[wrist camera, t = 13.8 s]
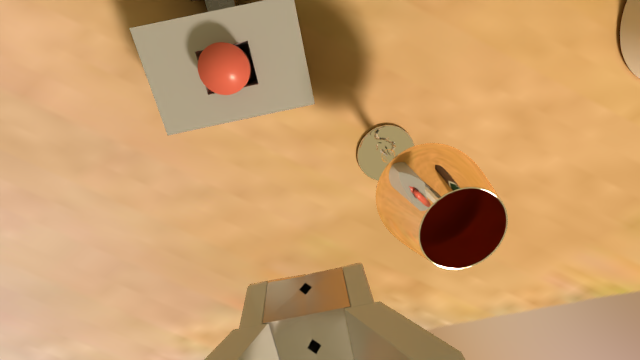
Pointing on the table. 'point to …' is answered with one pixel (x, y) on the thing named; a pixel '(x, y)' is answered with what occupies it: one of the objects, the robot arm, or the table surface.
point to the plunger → (224, 68)
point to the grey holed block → (242, 31)
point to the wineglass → (433, 198)
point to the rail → (219, 4)
